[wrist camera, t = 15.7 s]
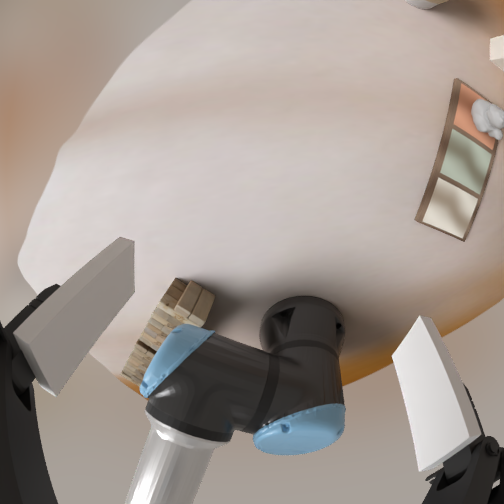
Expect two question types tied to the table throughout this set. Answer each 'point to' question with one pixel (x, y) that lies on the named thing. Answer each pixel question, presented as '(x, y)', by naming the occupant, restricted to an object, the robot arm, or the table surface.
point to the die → (497, 51)
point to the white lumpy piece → (488, 118)
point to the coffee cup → (425, 3)
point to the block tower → (168, 324)
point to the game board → (458, 168)
